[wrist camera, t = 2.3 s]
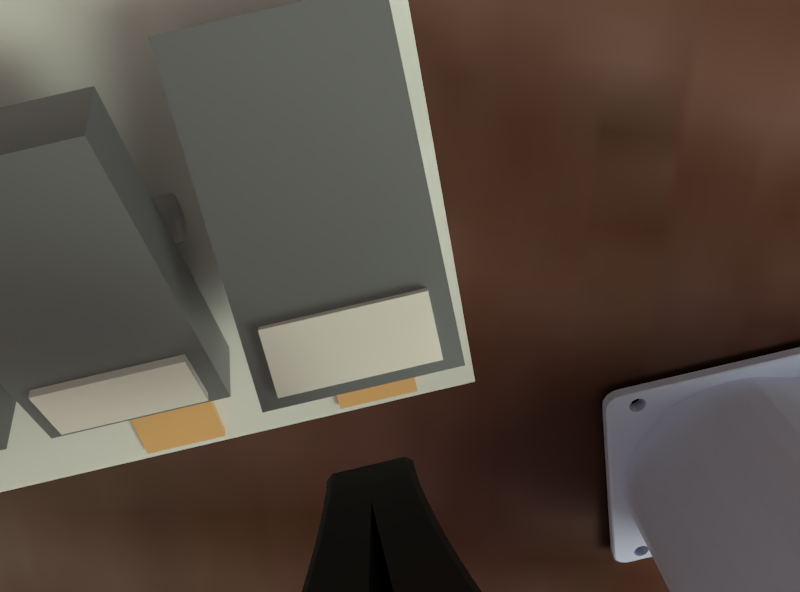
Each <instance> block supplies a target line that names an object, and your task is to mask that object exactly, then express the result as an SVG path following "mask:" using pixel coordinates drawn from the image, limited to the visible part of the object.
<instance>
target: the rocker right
mask: <svg viewBox="0 0 800 592" xmlns="http://www.w3.org/2000/svg"><path fill="white" fill-rule="evenodd" d="M148 38H149V41H150V45H151V48H152V51H153V54H154V58H155V61H156V64H157V68H158V71H159V74H160V77H161V81H162V84H163V87H164V91H165V94H166V97H167V100H168V104H169V107H170V110H171V114H172V117H173V120H174V123H175V127H176V130H177V133H178V137H179V140H180V143H181V146H182V150H183V153H184V156H185V160H186V163H187V166H188V169H189V173H190V176H191V179H192V183H193V186H194V189H195V192H196V196H197V199H198V202H199V206H200V209H201V212H202V215H203V219H204V222H205V225H206V229H207V232H208V235H209V238H210V242H211V245H212V248H213V252H214V255H215V258H216V261H217V265H218V268H219V271H220V274H221V278H222V281H223V284H224V288H225V291H226V294H227V297H228V301H229V304H230V307H231V311H232V314H233V317H234V320H235V324H236V327H237V330H238V334H239V337H240V340H241V343H242V347H243V350H244V353H245V357H246V360H247V363H248V366H249V370H250V373H251V376H252V380H253V383H254V386H255V389H256V393H257V396H258V399H259V403H260V406H261V409H262V412H267V411H272V410H276V409H280V408H284V407H289V406H293V405H297V404H302V403H306V402H310V401H314V400H319V399H323V398H327V397H332V396H336V395H340V394H345V393H349V392H353V391H357V390H362V389H366V388H370V387H375V386H379V385H383V384H387V383H392V382H396V381H400V380H405V379H409V378H413V377H417V376H422V375H426V374H430V373H435V372H439V371H443V370H448V369H452V368H456V367H460V366H465V362H464V357H463V352H462V347H461V343H460V338H459V333H458V328H457V324H456V319H455V314H454V309H453V304H452V300H451V295H450V290H449V285H448V280H447V276H446V271H445V266H444V261H443V256H442V252H441V247H440V242H439V237H438V232H437V228H436V223H435V218H434V213H433V208H432V204H431V199H430V194H429V189H428V184H427V180H426V175H425V170H424V165H423V160H422V156H421V151H420V146H419V141H418V136H417V132H416V127H415V122H414V117H413V112H412V108H411V103H410V98H409V93H408V88H407V84H406V79H405V74H404V69H403V64H402V60H401V55H400V50H399V45H398V41H397V36H396V31H395V26H394V21H393V17H392V12H391V7H390V2H389V0H305V1H301V2H297V3H292V4H288V5H284V6H279V7H275V8H270V9H266V10H262V11H257V12H253V13H249V14H244V15H240V16H236V17H231V18H227V19H223V20H218V21H214V22H209V23H205V24H201V25H196V26H192V27H188V28H183V29H179V30H175V31H170V32H166V33H162V34H157V35H153V36H149V37H148Z"/></svg>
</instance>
